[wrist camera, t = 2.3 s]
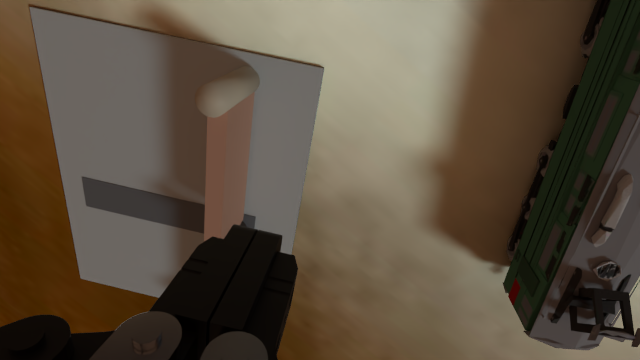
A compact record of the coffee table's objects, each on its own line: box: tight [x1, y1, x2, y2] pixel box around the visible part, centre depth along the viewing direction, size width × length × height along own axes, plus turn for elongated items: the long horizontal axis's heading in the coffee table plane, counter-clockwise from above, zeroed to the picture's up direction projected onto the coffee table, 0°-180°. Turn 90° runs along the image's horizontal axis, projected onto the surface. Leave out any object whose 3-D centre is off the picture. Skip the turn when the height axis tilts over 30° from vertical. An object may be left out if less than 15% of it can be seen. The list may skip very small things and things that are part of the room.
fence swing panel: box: [195, 66, 260, 241], centre depth 24 cm, size 12×2×6 cm, turn 170°
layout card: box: [29, 7, 324, 298], centre depth 30 cm, size 26×21×1 cm
